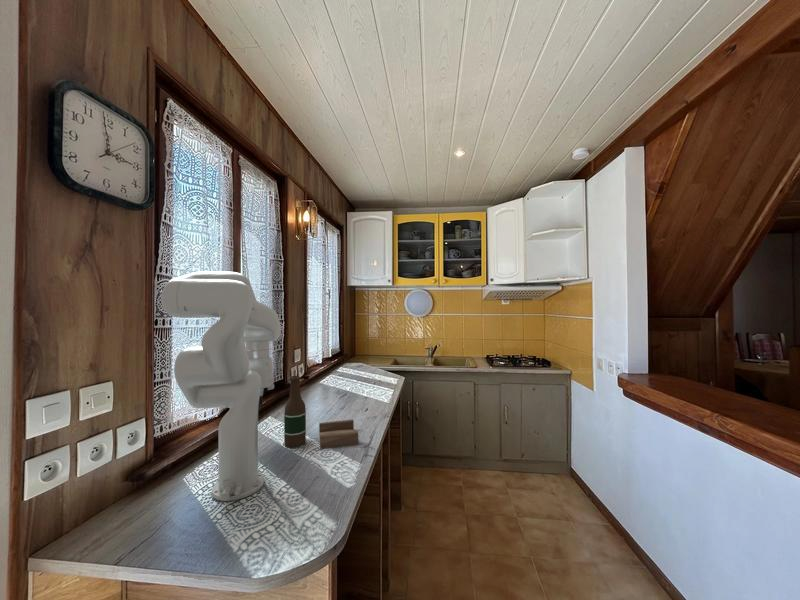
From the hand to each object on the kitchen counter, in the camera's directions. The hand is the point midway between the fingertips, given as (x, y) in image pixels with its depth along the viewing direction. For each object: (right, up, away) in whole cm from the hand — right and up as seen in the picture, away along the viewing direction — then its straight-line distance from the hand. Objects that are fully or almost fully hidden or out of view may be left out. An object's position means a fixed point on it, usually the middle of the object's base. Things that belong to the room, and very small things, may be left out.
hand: (257, 407), depth 111 cm
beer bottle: (+12, -14, +3) cm, 19 cm away
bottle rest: (+26, -14, +7) cm, 31 cm away
